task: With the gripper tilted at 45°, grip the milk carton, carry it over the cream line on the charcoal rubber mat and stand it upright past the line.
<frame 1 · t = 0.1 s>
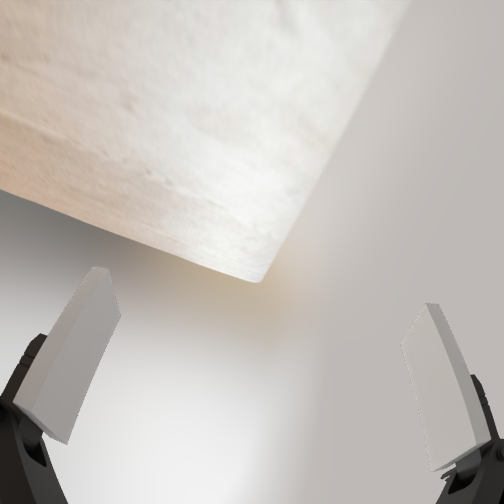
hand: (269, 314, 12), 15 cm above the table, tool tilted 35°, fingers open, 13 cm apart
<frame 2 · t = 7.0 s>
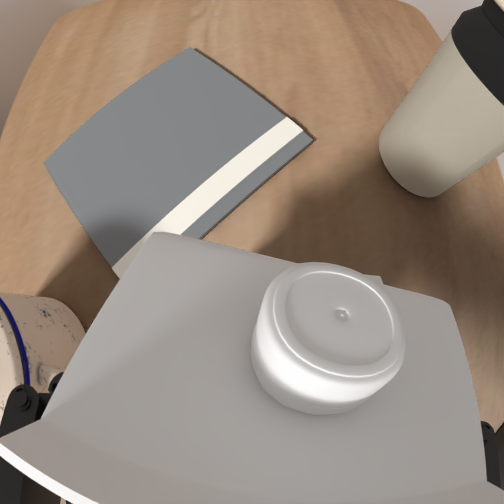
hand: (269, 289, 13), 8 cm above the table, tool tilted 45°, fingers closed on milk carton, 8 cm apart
teacup with lid: (65, 352, 20), on the table
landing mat: (163, 147, 23), on the table
milk carton: (254, 344, 21), on the table, touching gripper
travel mug: (414, 158, 24), on the table
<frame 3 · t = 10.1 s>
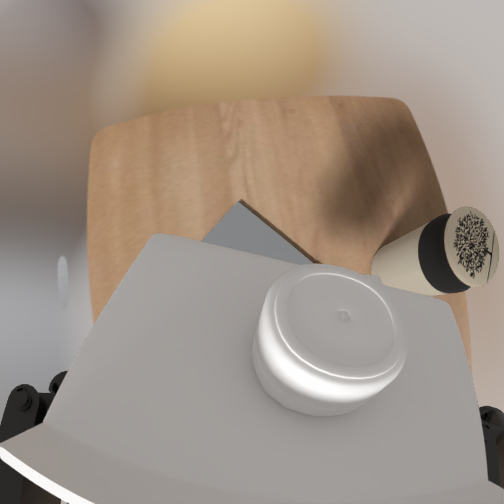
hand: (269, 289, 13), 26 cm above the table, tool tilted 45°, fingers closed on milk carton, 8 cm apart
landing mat: (239, 292, 39), on the table
milk carton: (254, 344, 21), point 18 cm above the table, touching gripper
travel mug: (394, 271, 40), on the table
when the fingers open (10 cm above the table, at t = 13.7 s): milk carton drops 1 cm, resting on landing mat.
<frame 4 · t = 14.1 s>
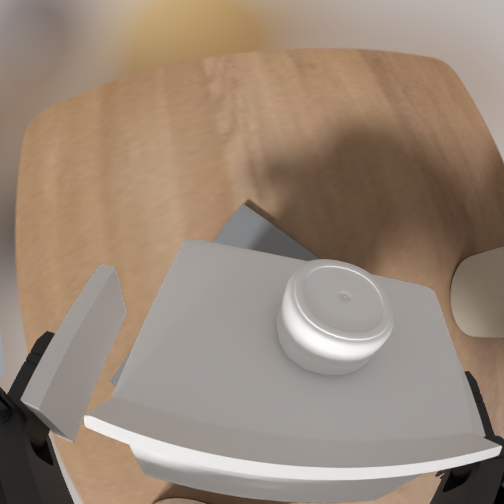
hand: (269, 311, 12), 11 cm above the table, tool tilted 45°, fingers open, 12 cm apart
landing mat: (256, 359, 22), on the table
milk carton: (262, 338, 22), resting on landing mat
travel mug: (474, 296, 23), on the table
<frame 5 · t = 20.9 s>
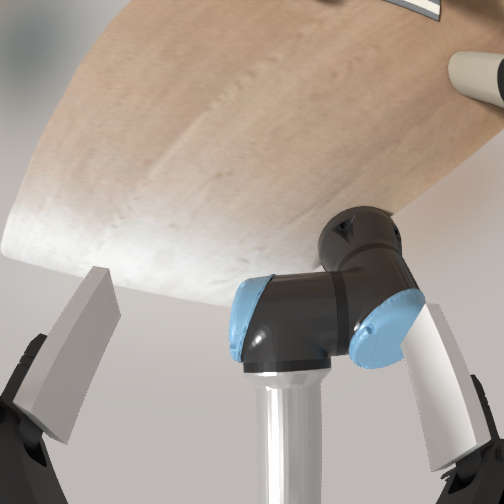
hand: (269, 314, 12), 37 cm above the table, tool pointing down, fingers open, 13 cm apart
travel mug: (465, 73, 33), on the table
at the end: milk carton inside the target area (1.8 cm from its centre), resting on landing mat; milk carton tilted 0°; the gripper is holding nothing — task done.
